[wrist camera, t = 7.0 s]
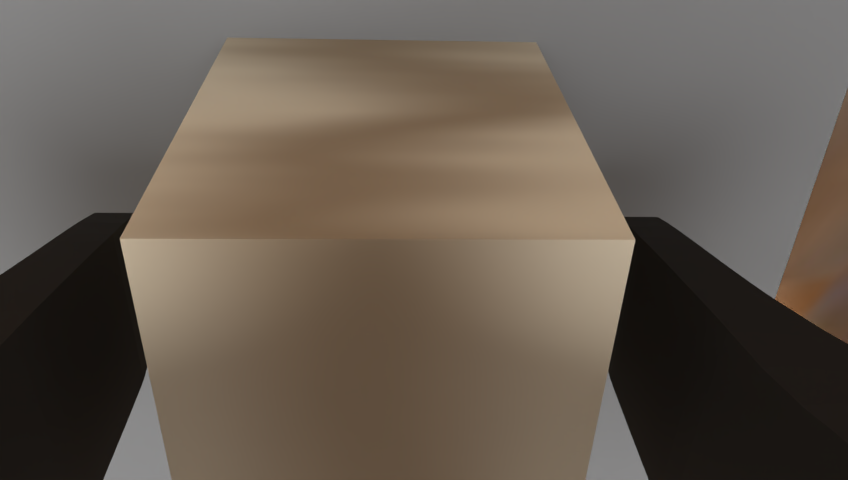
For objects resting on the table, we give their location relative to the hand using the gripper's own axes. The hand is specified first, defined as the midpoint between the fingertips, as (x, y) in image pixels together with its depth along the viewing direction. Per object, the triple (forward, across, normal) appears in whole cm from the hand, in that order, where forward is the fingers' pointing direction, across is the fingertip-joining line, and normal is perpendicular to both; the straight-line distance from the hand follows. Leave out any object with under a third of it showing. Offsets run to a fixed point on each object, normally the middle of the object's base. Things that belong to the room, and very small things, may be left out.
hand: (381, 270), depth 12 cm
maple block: (+3, 0, 0) cm, 3 cm away
